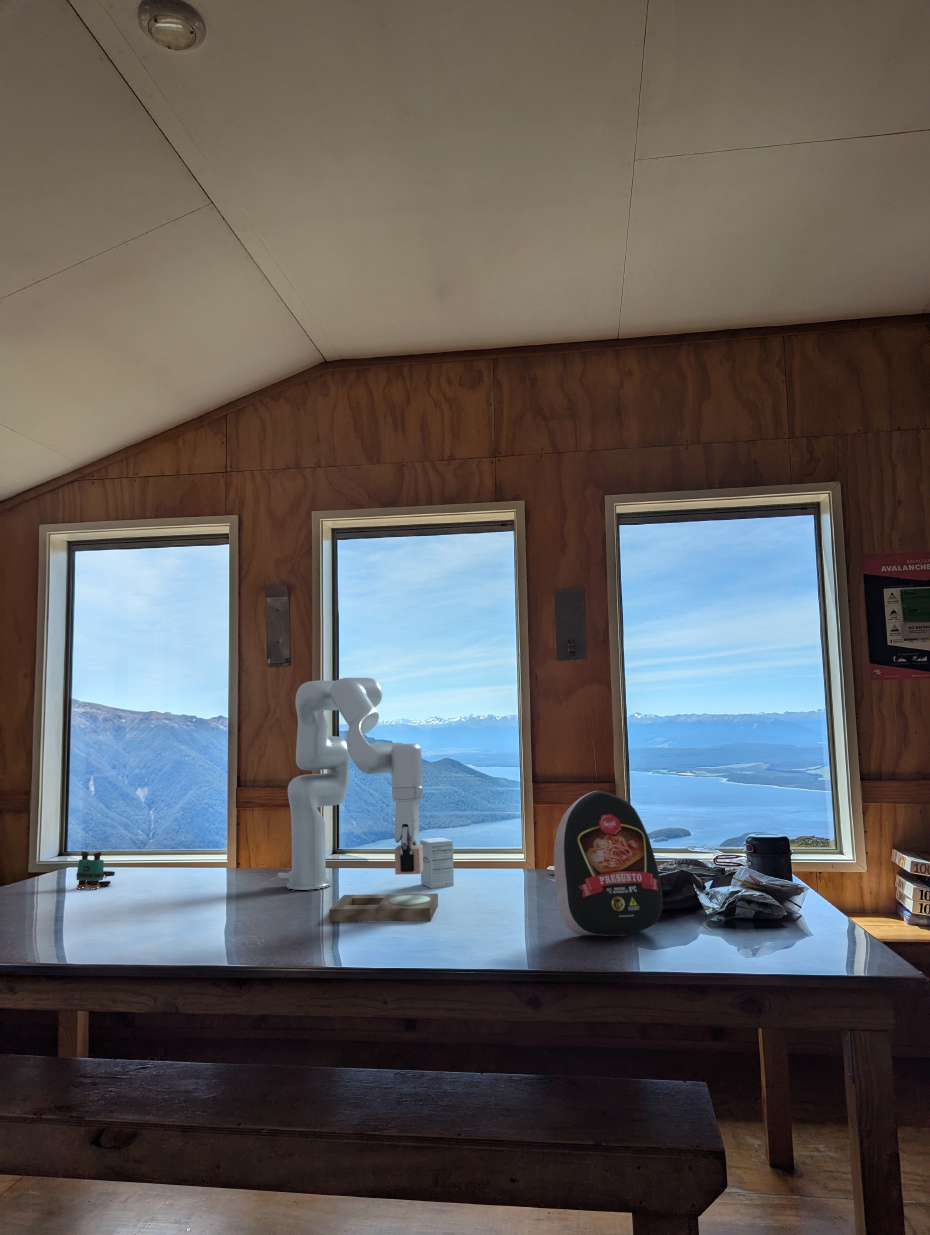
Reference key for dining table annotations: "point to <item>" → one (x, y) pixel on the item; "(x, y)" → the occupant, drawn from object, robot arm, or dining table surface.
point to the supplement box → (437, 862)
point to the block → (417, 860)
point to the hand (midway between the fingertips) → (409, 868)
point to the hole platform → (384, 907)
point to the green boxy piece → (92, 871)
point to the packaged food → (605, 868)
